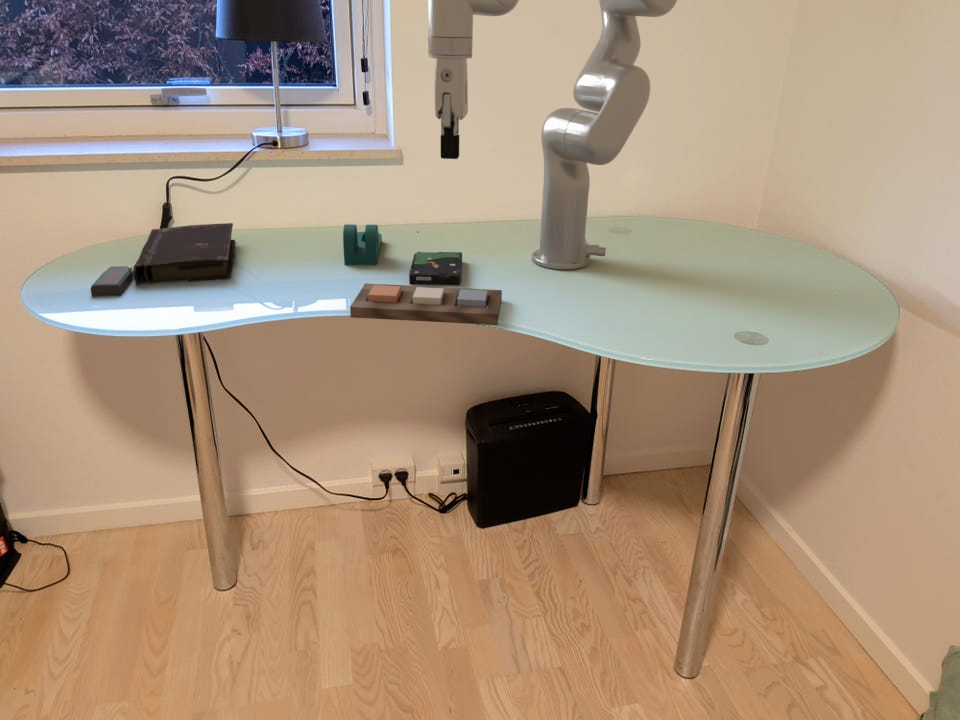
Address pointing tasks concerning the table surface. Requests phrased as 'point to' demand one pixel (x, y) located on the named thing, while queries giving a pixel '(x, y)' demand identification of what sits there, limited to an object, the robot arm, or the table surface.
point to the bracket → (361, 245)
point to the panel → (427, 307)
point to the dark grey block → (113, 281)
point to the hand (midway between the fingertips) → (449, 157)
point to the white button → (428, 296)
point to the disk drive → (436, 268)
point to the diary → (187, 254)
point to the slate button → (472, 298)
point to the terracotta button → (385, 294)
